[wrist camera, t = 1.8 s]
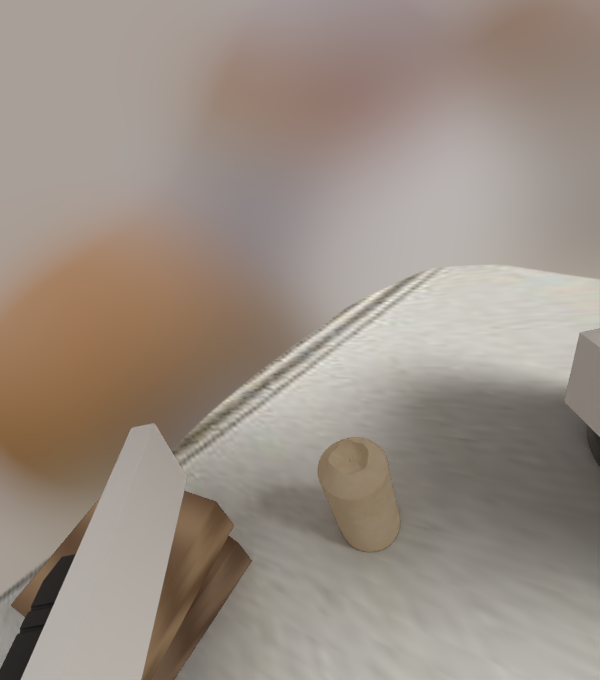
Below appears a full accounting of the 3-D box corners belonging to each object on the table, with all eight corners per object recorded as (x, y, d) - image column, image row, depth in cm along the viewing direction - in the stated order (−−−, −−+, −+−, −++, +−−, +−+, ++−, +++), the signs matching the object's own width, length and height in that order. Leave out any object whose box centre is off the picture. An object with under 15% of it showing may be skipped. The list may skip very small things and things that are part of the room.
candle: (343, 558, 32) (315, 495, 26) (336, 498, 36) (311, 433, 30) (408, 547, 31) (393, 480, 25) (392, 488, 35) (377, 419, 30)
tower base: (176, 507, 41) (158, 487, 39) (253, 562, 34) (237, 542, 32) (79, 619, 34) (51, 603, 32) (151, 719, 27) (122, 707, 25)
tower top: (143, 492, 39) (122, 470, 36) (234, 525, 33) (216, 501, 31) (45, 622, 31) (10, 605, 28) (142, 696, 25) (108, 682, 23)
